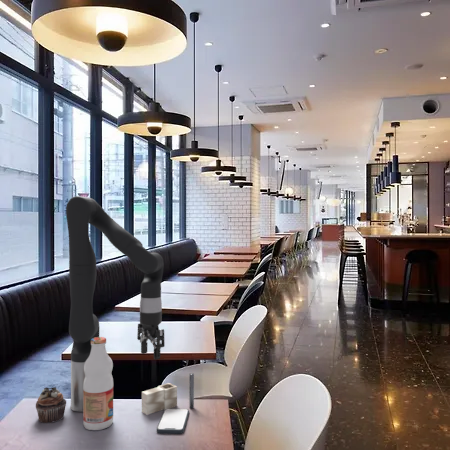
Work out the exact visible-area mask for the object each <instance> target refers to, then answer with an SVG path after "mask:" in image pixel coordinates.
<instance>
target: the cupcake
mask: <svg viewBox="0 0 450 450" xmlns="http://www.w3.org/2000/svg"><path fill="white" fill-rule="evenodd" d="M66 407H67V400H66V399H65V398H64V395H63V393H62V392H60V390H59V389H58V388H57V387H56V386H53V387H51V388H50V387H46V386H45V387H44V388H43V389H42V391H41V392H40V394H39V397H38V398H37V401H36V403H35V409H36V413H37V417H38V420H39V422H40V423H43V424H49V423H55V422H59V421H61V420H62V419H63V418H64V416H65V413H66V412H65V411H66Z"/></svg>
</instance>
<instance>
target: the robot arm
mask: <svg viewBox="0 0 450 450" xmlns="http://www.w3.org/2000/svg"><path fill="white" fill-rule="evenodd" d="M65 214H66V215H65V216H66V217H65V218H66V223H67V232H68V254H69V255H68V260H69V262H68V275H69V293H70V296H69V297H70V313H69V321H68V322H69V323H68V333H69V335H70V338H71V339H72V349H71V352H70V409H71V410H72V411H74V412H82V413H83V384H84V379H85V372H84V364H85V361H86V360H87V359H88V357H89V355H90V352H91V348H92V345H91V339H92V338H96V337H100V322H99V319H98V317H97V316H96V314H94V308H93V302H94V301H93V300H94V295H95V294H94V293H95V289H96V282H97V258H96V254H95V250H94V248H93V246H92V243H91V240H90V235H89V233H90V232H89V226H90V225H91V226H93V227H95V228H96V229H98V230H99V231H100V232H101V233H102V234H103V235H104V236H105V238H106V239H107V240H108V241H109V243H110V244H111V245H112V246H114V248H115V249H116V250H118V251H119V252H120V253H122V254H123V255H124V256H126V257H127V258H128V259H129V260H130V262H132V263H133V265H134V266H135V267H136V268H137V269H138V270H140V271H141V272H142V273H143V274H144V277H143V280H142V282H141V284H140V302H139V323H137V335H136V336H137V337H136V338H137V341H139V343H140V353H141V354H143V355H144V354H148V341H150V343H151V344H152V345H153V360H161V359H160V358H161V349H162V348H164V347H165V329H164V328H163V329H160V328H159V325H160V324H161V323H162V317H163V316H162V313H163V311H162V309H163V307H162V304H163V303H162V302H163V301H162V279H163V274H164V265H165V263H164V258H163V257H162V255H161V254H160V253H158V252H155V251H154V252H150V251H148V250H147V249H146V248H145V246H143V243H142V242H141V241H140V240H139V239H138V238H136V237H135V236H134V235H133V234H132V233H130V232H129V231H127V230H126V229H125V228H123V226H121V225H120V224H119V223H118V222H117V221H116V220H115V219H113V218H112V217H111V216H110V215H109V214H108V213H107V212H106V210H104V209H103V207H102V206H101V205H100V204H99V203H98V202H97V201H96V200H95V199H93V198H91V197H88V196H82V195H81V196H79V195H77V196H75V195H74V196H73V197H71V198H70V199H69V200H68V202H67V204H66V208H65Z"/></svg>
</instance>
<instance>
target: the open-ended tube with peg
mask: <svg viewBox="0 0 450 450" xmlns="http://www.w3.org/2000/svg"><path fill="white" fill-rule="evenodd" d="M175 406H176V407H178V386H177V385H175V384H172V383H171V382H167V383H164V384H161V385H158V386H157V387H154V388H150V389H146V390H144V391H141V413H143V414H144V415H146V416H148V415H151V414H154V413H158V412H160V411H162V410H165V409H174V408H175Z"/></svg>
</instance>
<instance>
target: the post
mask: <svg viewBox="0 0 450 450" xmlns="http://www.w3.org/2000/svg"><path fill="white" fill-rule="evenodd" d="M188 378H189V381H188V383H189V384H188V385H189V388H188V389H189V391H188V393H189V395H188V397H189V399H188V400H189V402H188V403H189V404H188V405H189V406H188V407H189V409H194V408H195V374H194V373H193V372H191V373H189V376H188Z"/></svg>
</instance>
